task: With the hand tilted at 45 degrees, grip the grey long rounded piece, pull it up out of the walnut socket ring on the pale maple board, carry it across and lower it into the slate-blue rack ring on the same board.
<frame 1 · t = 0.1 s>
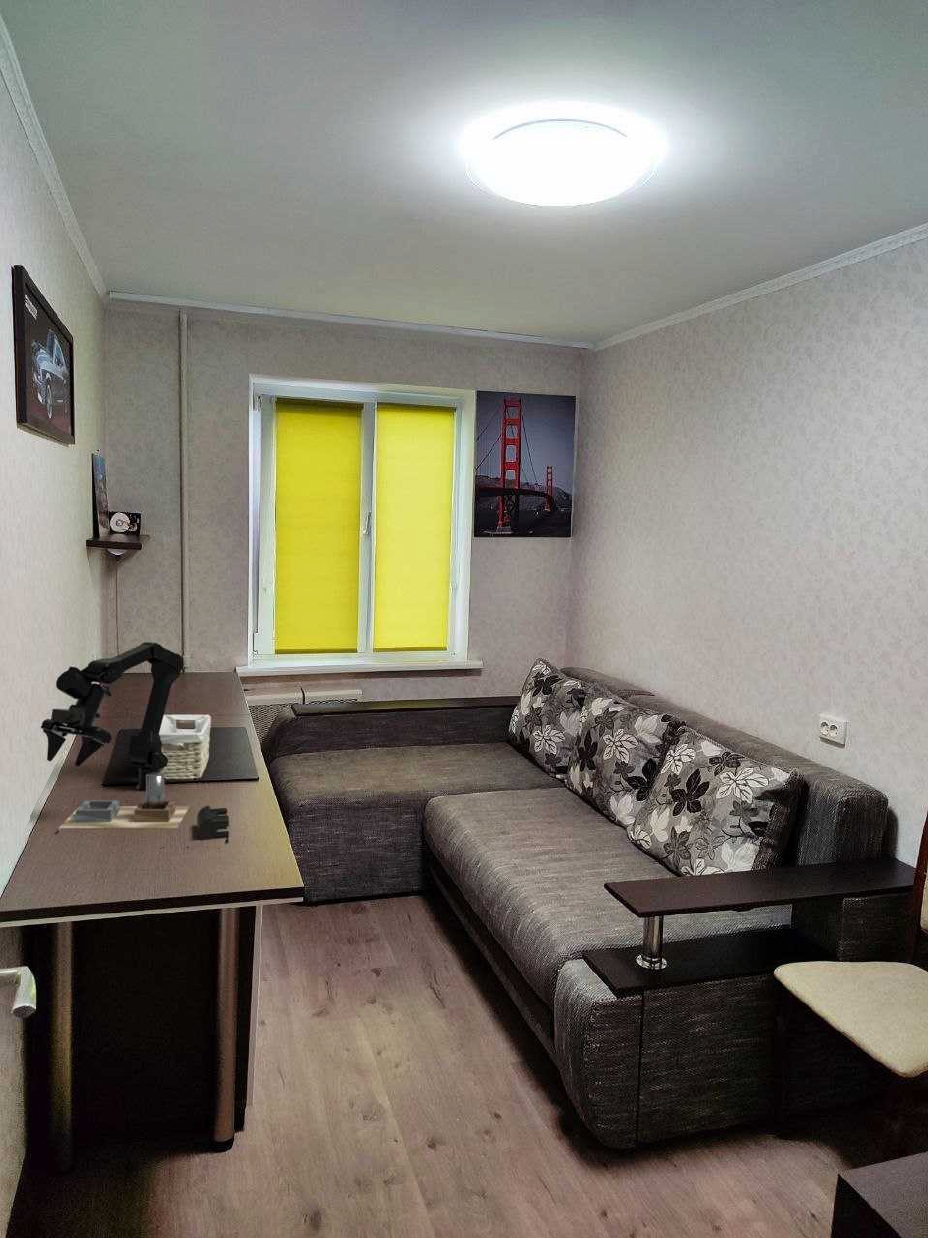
hand: (62, 763, 224), 15 cm above the table, tool tilted 35°, fingers open, 9 cm apart
grey long rounded piece: (155, 816, 227), point 1 cm above the table, touching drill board
storage basket: (180, 770, 273), on the table
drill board: (126, 822, 226), on the table
end cap: (212, 839, 218), on the table
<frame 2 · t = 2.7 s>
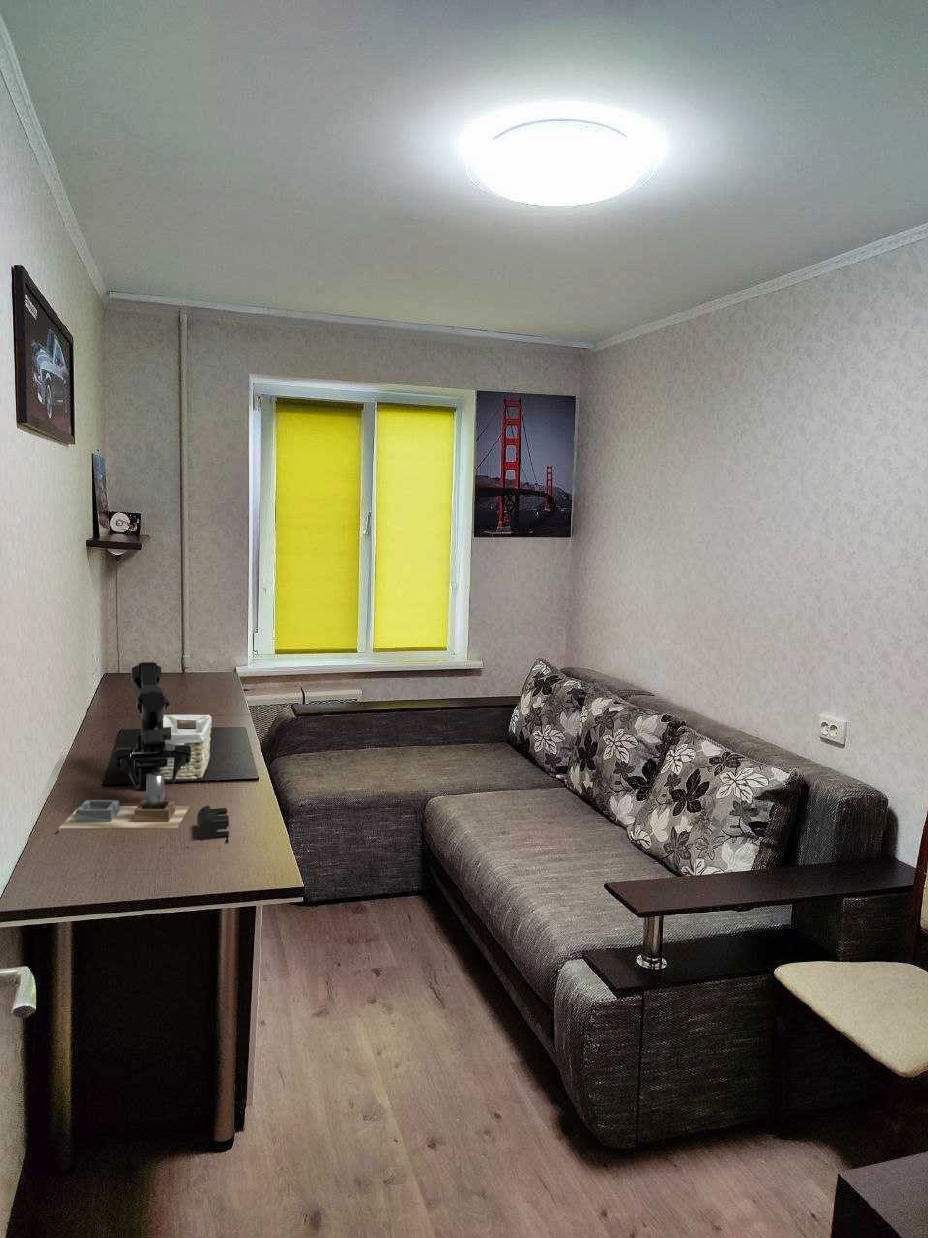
hand: (154, 784, 230), 9 cm above the table, tool tilted 45°, fingers open, 9 cm apart
nothing on the table moved.
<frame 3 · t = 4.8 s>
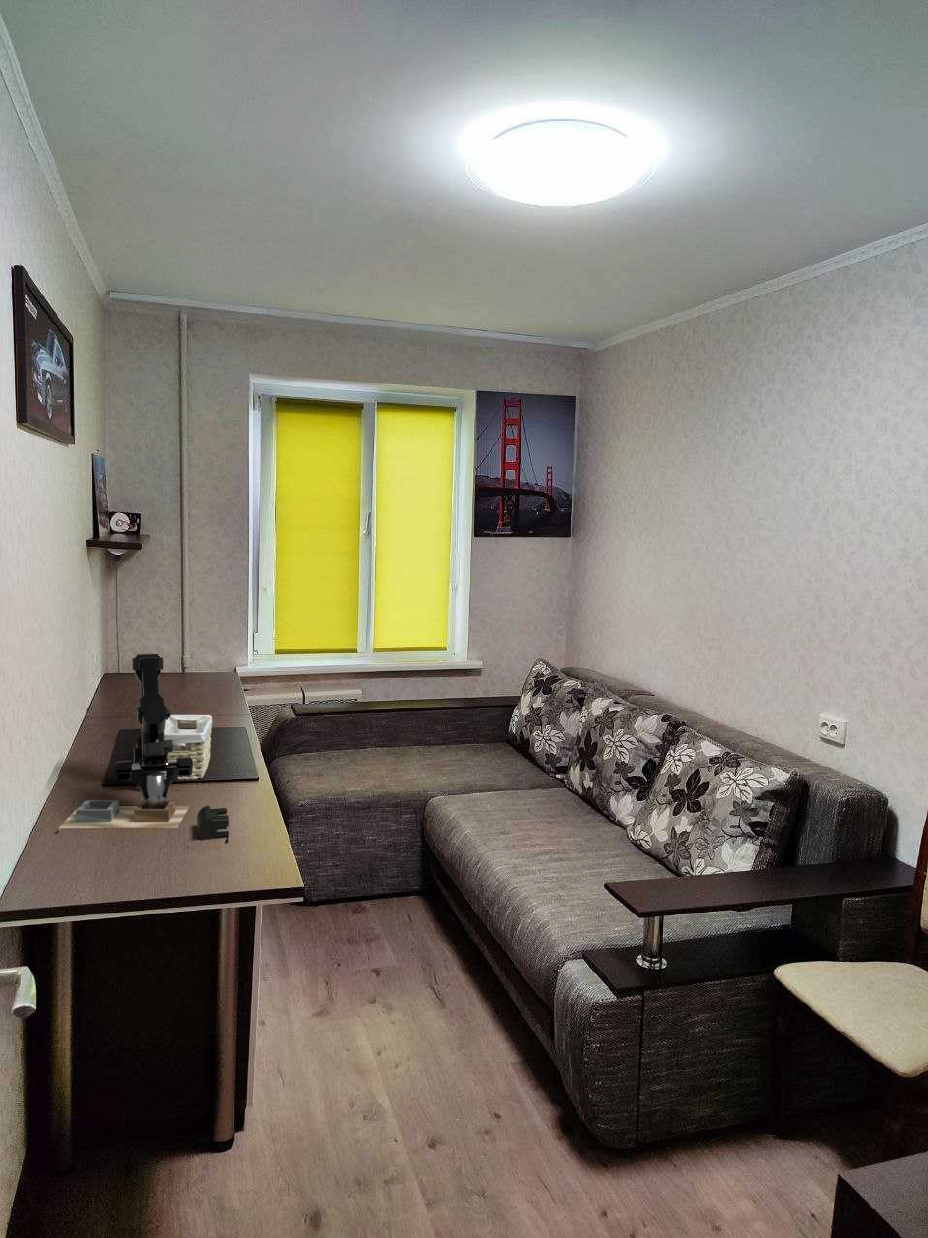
hand: (155, 798, 225), 7 cm above the table, tool tilted 45°, fingers closed on grey long rounded piece, 4 cm apart
grey long rounded piece: (155, 816, 227), point 2 cm above the table, touching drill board, gripper
everything else where it was.
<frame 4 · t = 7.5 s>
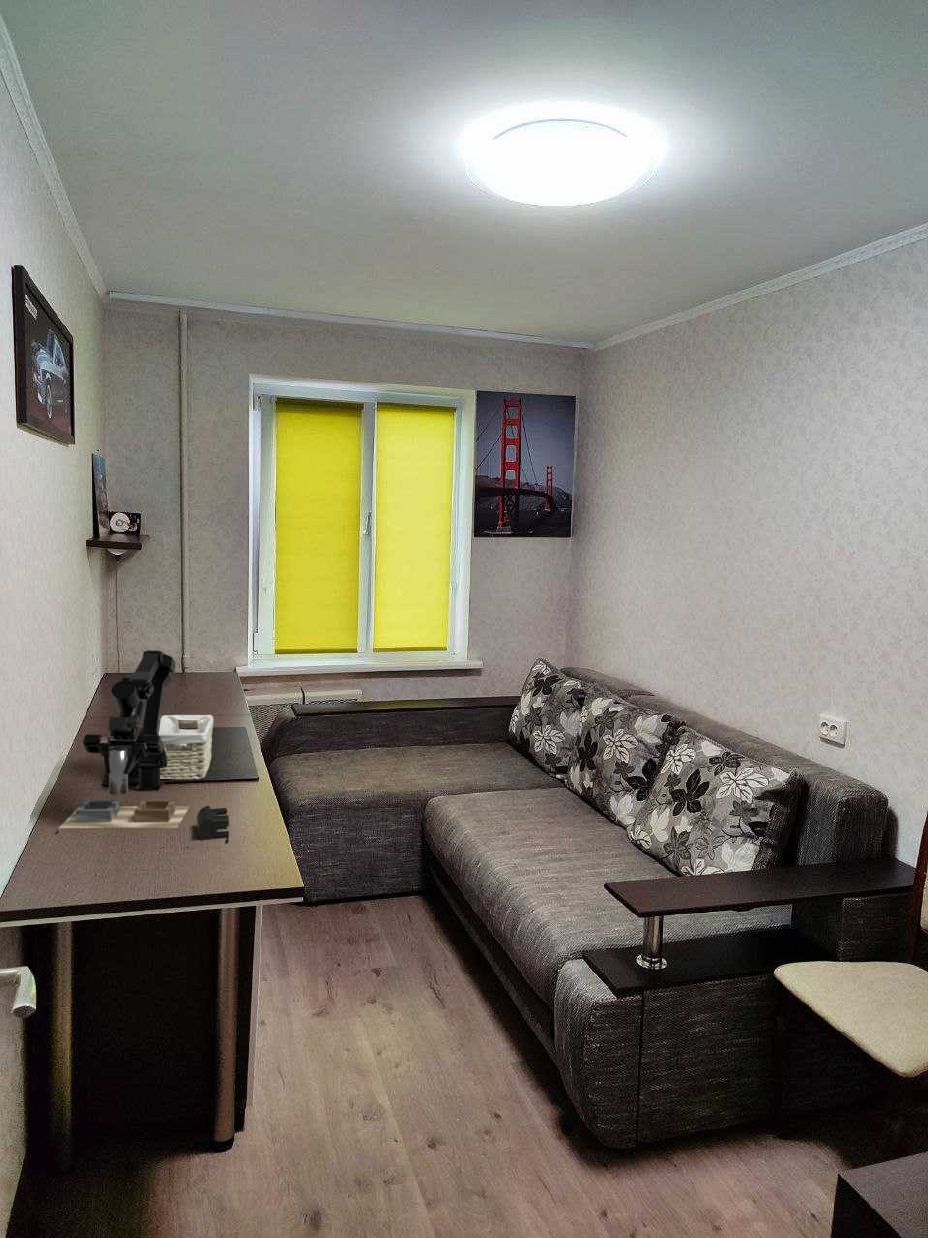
hand: (116, 773, 223), 13 cm above the table, tool tilted 45°, fingers closed on grey long rounded piece, 4 cm apart
grey long rounded piece: (118, 792, 225), point 8 cm above the table, touching gripper
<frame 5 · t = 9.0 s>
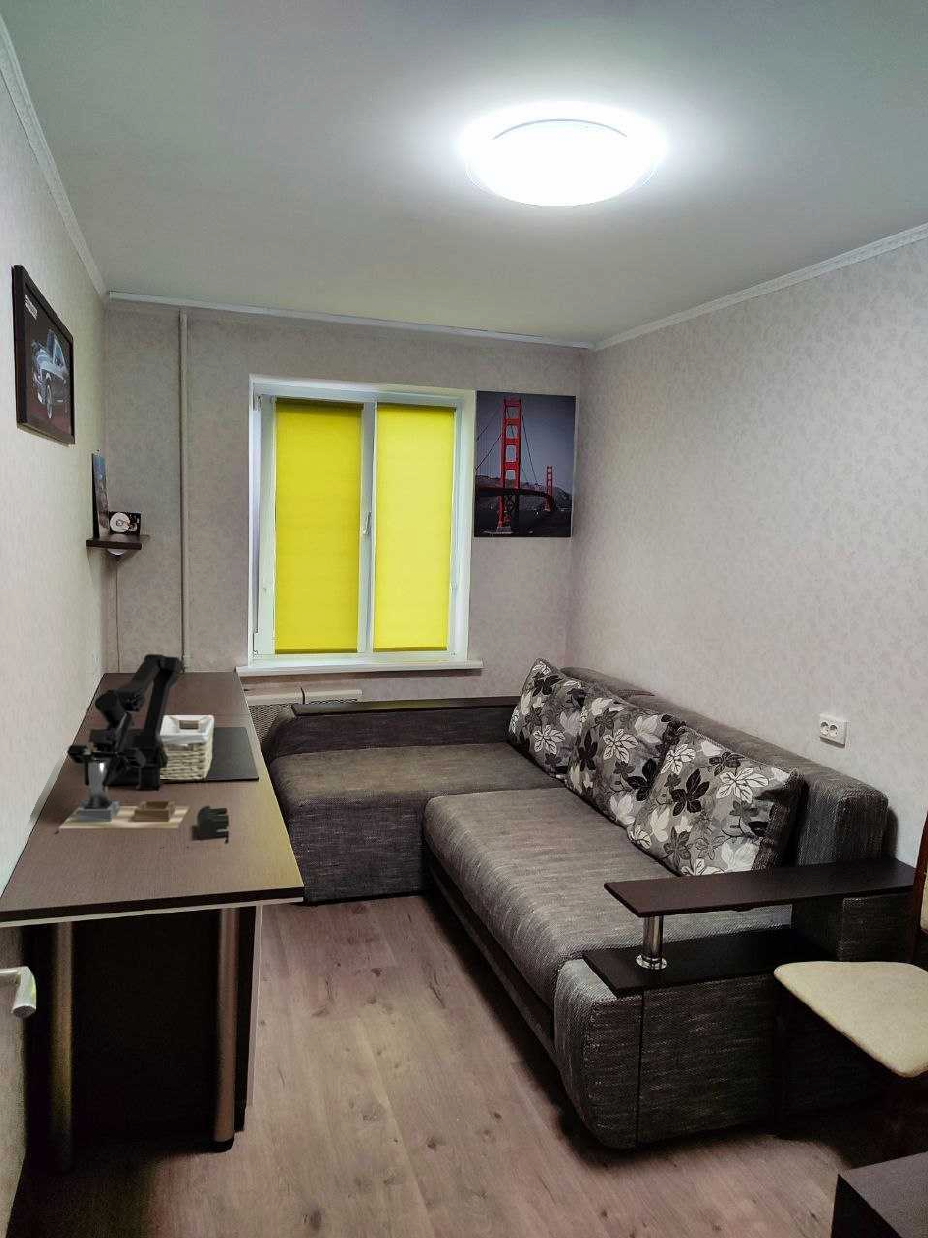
hand: (95, 785, 223), 10 cm above the table, tool tilted 45°, fingers closed on grey long rounded piece, 4 cm apart
grey long rounded piece: (98, 804, 225), point 5 cm above the table, touching gripper
when the fingers open (8 cm above the table, at t = 10.3 s): grey long rounded piece stays where it is, resting on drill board.
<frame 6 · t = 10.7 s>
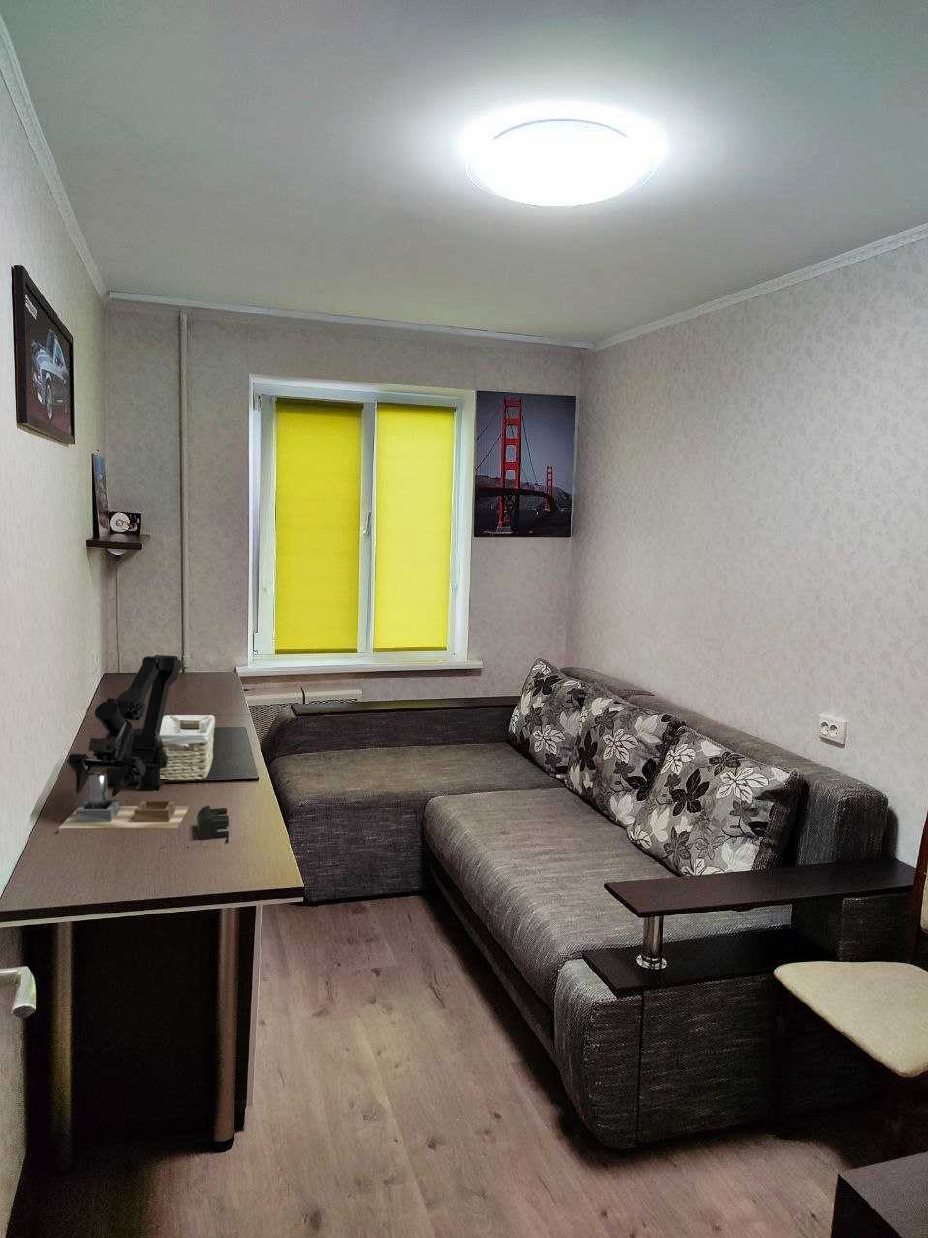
hand: (95, 794, 223), 8 cm above the table, tool tilted 45°, fingers open, 9 cm apart
grey long rounded piece: (98, 816, 226), point 2 cm above the table, touching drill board
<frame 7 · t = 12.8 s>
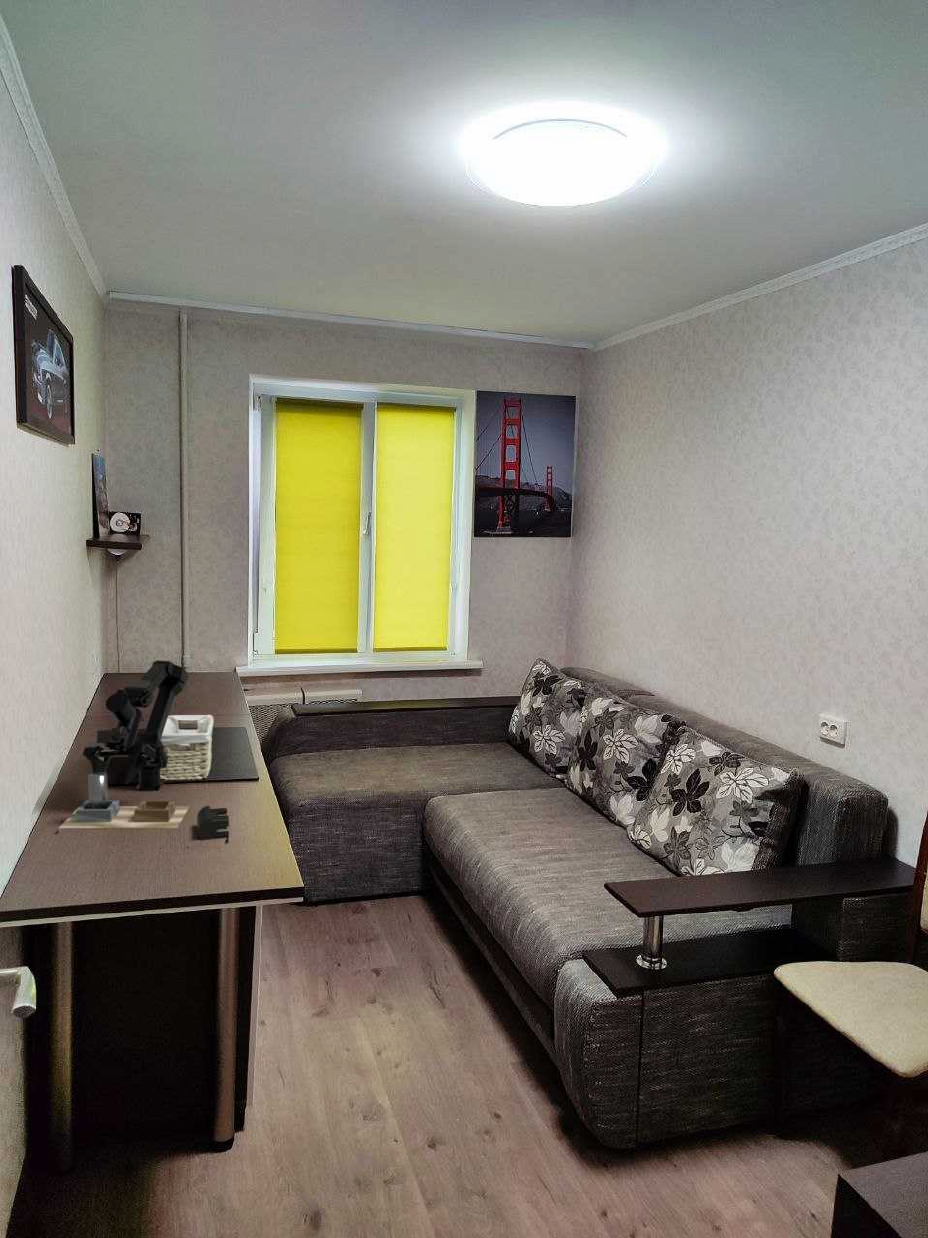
hand: (110, 784, 230), 8 cm above the table, tool tilted 40°, fingers open, 9 cm apart
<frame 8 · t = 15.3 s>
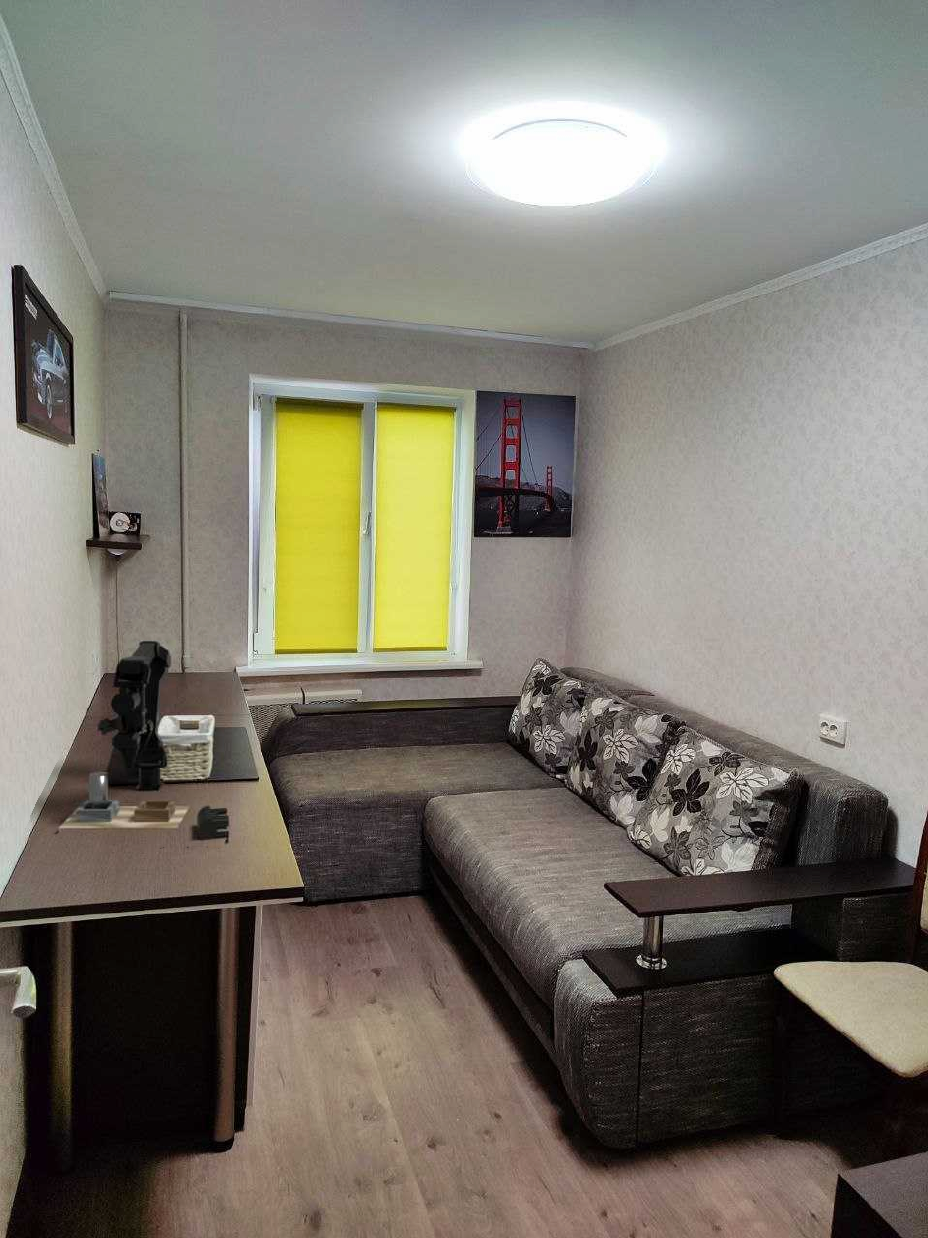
hand: (133, 764, 236), 12 cm above the table, tool pointing down, fingers open, 9 cm apart
at the end: grey long rounded piece 0.1 cm from the target spot on the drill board, point 1.5 cm above the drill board's base; grey long rounded piece tilted 1°; the gripper is holding nothing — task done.
